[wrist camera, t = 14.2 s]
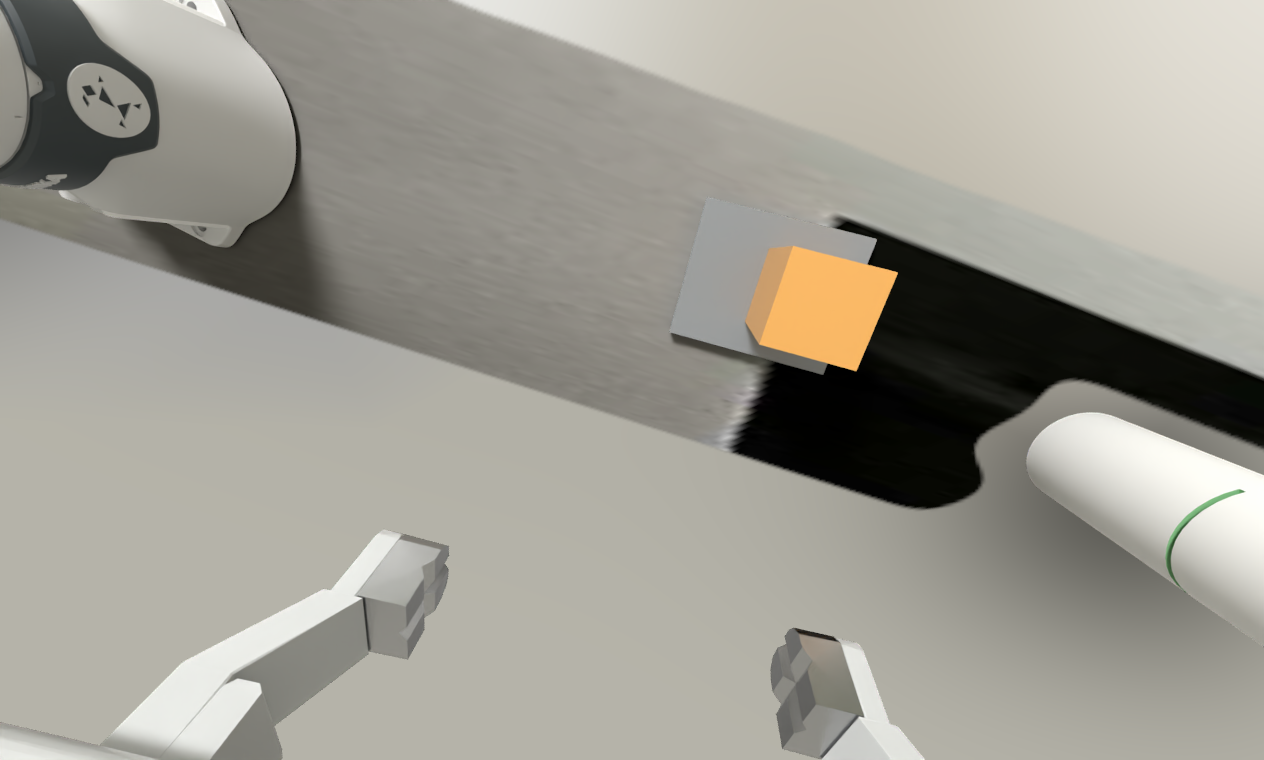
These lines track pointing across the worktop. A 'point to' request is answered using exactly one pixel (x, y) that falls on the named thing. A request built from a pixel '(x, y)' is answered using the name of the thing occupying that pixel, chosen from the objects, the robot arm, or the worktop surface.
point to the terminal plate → (747, 273)
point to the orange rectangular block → (818, 305)
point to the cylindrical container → (1162, 508)
